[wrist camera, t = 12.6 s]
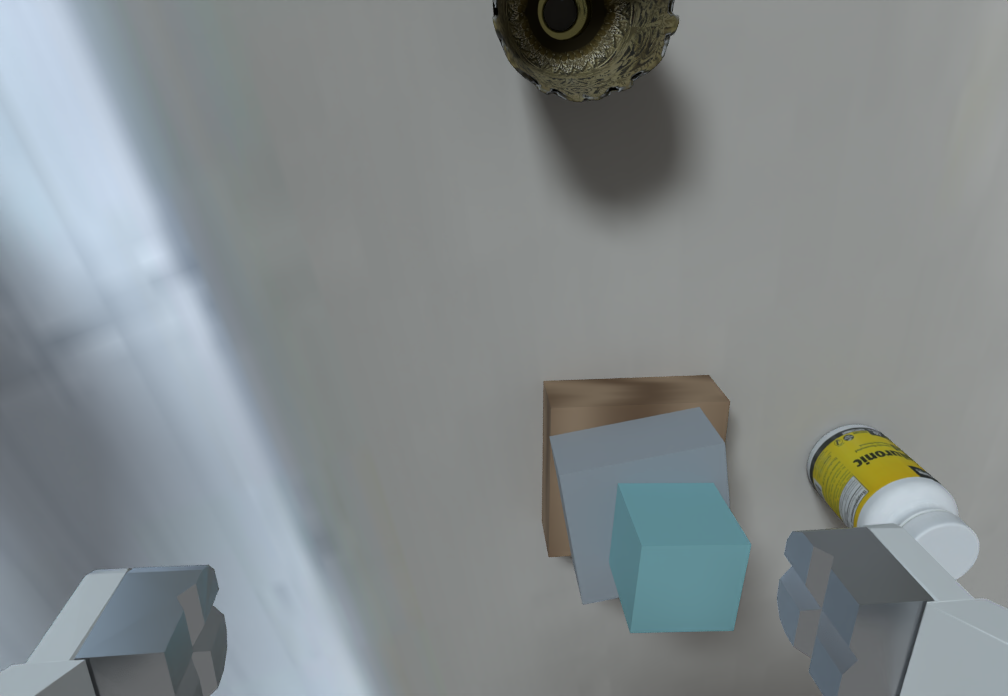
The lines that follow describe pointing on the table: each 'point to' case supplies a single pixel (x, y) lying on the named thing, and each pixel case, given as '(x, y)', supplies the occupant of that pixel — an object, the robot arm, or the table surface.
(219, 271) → the table surface
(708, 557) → the teal cube
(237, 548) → the table surface
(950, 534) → the supplement bottle
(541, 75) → the cup
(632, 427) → the grey top block
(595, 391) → the walnut base block
